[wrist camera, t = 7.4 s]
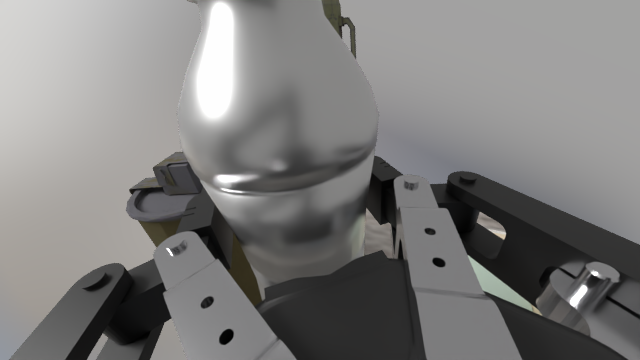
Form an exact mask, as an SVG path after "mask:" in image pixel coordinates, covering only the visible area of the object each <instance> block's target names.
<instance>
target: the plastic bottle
mask: <svg viewBox="0 0 640 360" xmlns="http://www.w3.org/2000/svg"><path fill="white" fill-rule="evenodd" d="M187 1H189V2H192V3H196V4H198V7H199V12H200V19H201V26H202V29H201V31H200V34H199V37H198V40H197V43H196V46H195V49H194V52H193V54H192V57H191V60H190V63H189V66H188V69H187V71H186V74H185V78H184V83H183V88H182V92H181V96H180V101H179V105H178V109H177V118H178V127H179V137H180V146H181V149H182V151H183V153H184V155H185V156H186V158H187V160H188V162H189V164H190V166H191V168H192V170H193V171H194V173H195V174H196V175H197V177H198V178H199V179H200V182H201V184H202V185H203V187H204V188H205V190H206V191H207V193H208V194H209V196H210V197H211V199H212V200H213V202H214V203H215V205H216V206H217V208H218V210H219V211H220V213H221V214H222V216H223V217H224V219H225V220H226V222H227V223H228V225H229V226H230V228H231V229H232V231H233V232H234V234H235V236H236V238H237V240H238V242H239V244H240V246H241V248H242V250H243V252H244V254H245V256H246V258H247V260H248V262H249V263H250V265H251V268H252V270H253V272H254V274H255V276H256V279H257V283H258V286H259V290H260V294H261V298H262V300H264V299H265V292H264V288H266V287H269V286H272V285H275V284H278V283H281V282H285V281H288V280H291V279H294V278H301V277H312V276H323V275H329V274H331V273H333V272H334V271H336V270H338V269H339V268H341V267H343V266H344V265H346V264H348V263H349V262H351V261H352V260H354V259H356V258H359V257H362V256H364V243H365V240H364V235H365V220H366V203H367V197H368V191H369V185H370V179H371V172H372V166H373V160H374V154H375V146H376V142H377V132H378V120H379V112H378V109H377V105H376V102H375V99H374V95H373V91H372V88H371V85H370V84H369V81H368V80H367V78H366V76H365V75H364V73H363V71H362V69H361V68H360V66H359V64H358V63H357V61H356V59H355V57H354V56H353V54H352V52H351V51H350V50H349V48H348V47H347V46H346V44H345V43H344V42H343V40H342V39H341V37H340V36H339V35H338V33H337V32H336V30H335V29H334V28H333V26H332V25H331V23H330V22H329V21H328V19H327V18H326V17H325V15H324V10H323V6H322V1H321V0H187Z"/></svg>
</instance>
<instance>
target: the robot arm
mask: <svg viewBox="0 0 640 360" xmlns="http://www.w3.org/2000/svg"><path fill="white" fill-rule="evenodd" d="M366 208H367V209H368V210H369V211H370V213H371V214H372V215H373V216H374V218H375V219H376V220H377V221H378V223H379V224H380V225H382V224H385V223H390V224H391V241H392V253H393V259H392V258H391V259H388V258H387V256H386V255H385V254H384V252H383V251H382V250H381V251H378V252H375V253H372V254H369V255H365V256H362V257H359V258H356V259H354V260H352V261H351V262H349V263H348V264H346V265H344V266H343V267H341V268H339V269H338V270H336V271H334V272H333V273H331V274H329V275H323V276H312V277H301V278H294V279H291V280H288V281H285V282H281V283H278V284H275V285H272V286H269V287H266V288H264V292H265V299H264V300H262V301H261V302H259V303H258V304H257V305H255V306H253V305H252V303H251V302H250V301H249V299H248V298H247V297H246V295H245V294H244V293H243V291H242V290H241V289H240V287H239V286H238V285H237V283H236V282H235V281H234V279H233V278H232V277H231V275H230V274H229V273H228V271H227V270H229V269H231V260H232V246H233V231H232V229H231V228H230V226H229V225H228V223H227V222H226V220H225V219H224V217H223V216H222V214H221V213H220V211H219V210H218V208H217V206H216V205H215V203H214V202H213V200H212V199H211V197H210V196H209V194H208V193H207V191H206V190H205V188H204V187H203V188H202V191H201V194H199V195H195V196H194V197H193V198H192V199H191V200H190V201H189V202H188V203H187V206H186V209H185V211H184V214H183V217H182V219H181V221H180V224H179V226H178V229H177V231H176V234H175V235H173V236H171V237H169V238H167V239H166V240H165V241H163V242H162V243H161V244H160V245H159V246H158V247H157V248H156V250H155V252H154V255H153V257H154V259H152V260H150V261H148V262H146V263H144V264H142V265H140V266H137V267H135V268H133V269H131V270H129V271H127V270H126V269H125V267H124V266H123V265H121V264H119V263H113V264H108V265H105V266H102V267H100V268H97V269H95V270H93V271H92V272H90V273H88V274H87V275H85V276H84V277H82V278H81V279H80V280H78V281H77V282H76V283H75V284H74V285H73V286H72V287H71V288H70V289H69V291H68V292H67V293H66V294H65V295H64V296H63V298H62V299H61V300H60V301H59V302H58V303H57V305H56V306H55V307H54V308H53V309H52V310H51V312H50V313H49V314H48V315H47V316H46V317H45V319H44V320H43V321H42V322H41V323H40V324H39V326H38V327H37V328H36V329H35V330H34V331H33V332H32V334H31V335H30V336H29V337H28V338H27V339H26V341H25V342H24V343H23V344H22V345H21V346H20V348H19V349H18V350H17V351H16V352H15V353H14V355H13V356H12V357H11V358H10V359H9V360H87V358H88V356H89V354H90V353H91V351H92V349H93V348H94V346H95V345H96V343H97V342H98V339H99V338H100V337H101V335H102V333H103V334H105V335H106V336H107V337H108V340H107V342H106V343H105V345H104V347H103V349H102V350H101V352H100V354H99V356H98V357H97V359H96V360H150V358H151V355H152V353H153V350H154V348H155V346H156V343H157V341H158V338H159V335H160V333H161V330H162V328H163V325H164V322H166V321H168V320H169V319H171V318H172V320H173V323H174V326H175V328H176V331H177V333H178V336H179V339H180V342H181V344H182V347H183V350H184V353H185V355H186V358H187V360H640V245H639V244H636V243H634V242H632V241H630V240H627V239H625V238H623V237H621V236H618V235H616V234H614V233H611V232H609V231H607V230H604V229H602V228H600V227H598V226H595V225H593V224H591V223H589V222H586V221H584V220H582V219H579V218H577V217H575V216H572V215H570V214H568V213H566V212H563V211H561V210H559V209H556V208H554V207H552V206H549V205H547V204H545V203H542V202H540V201H538V200H536V199H534V198H531V197H529V196H527V195H524V194H522V193H520V192H518V191H515V190H513V189H510V188H508V187H506V186H504V185H502V184H499V183H497V182H495V181H492V180H490V179H488V178H485V177H483V176H481V175H478V174H475V173H472V172H464V171H460V172H454V173H451V174H450V175H449V176H448V180H447V184H429V182H428V181H427V180H426V179H425V178H423V177H420V176H416V175H403V174H401V173H400V172H399V171H397V170H396V169H395V168H393V167H392V166H390V165H389V164H388V163H386V162H385V161H384V160H383V159H382V158H380V157H377V156H374V160H373V166H372V172H371V179H370V185H369V191H368V197H367V203H366ZM479 212H482V213H484V214H485V215H487V216H489V217H491V218H492V219H494V220H496V221H498V222H499V223H500V224H501V225H502V226H503V227H504V228H505V231H506V237H505V239H502V238H500V237H499V236H497V235H496V234H494V233H492V232H491V231H489V230H488V229H486V228H484V227H483V226H481V225H480V224H478V223H476V222H477V219H478V215H479ZM468 256H470V257H471V258H472V259H474V260H475V261H476V262H477V263H479V264H480V265H481V266H483V267H484V268H485V269H486V270H488V271H489V272H490V273H492V274H493V275H494V276H495V277H497V278H498V279H499V280H501V281H502V282H503V283H505V284H506V285H507V286H508V287H510V288H511V289H512V290H514V291H515V292H516V293H517V294H519V295H520V296H521V297H523V298H524V299H525V300H526V301H528V302H529V303H530V304H532V305H533V306H534V307H535V308H537V309H538V310H539V312H540V313H541V314H542V316H541V315H539V314H537V313H534V312H532V311H530V310H528V309H525V308H523V307H521V306H518V305H516V304H514V303H511V302H509V301H507V300H504V299H502V298H500V297H497V296H495V295H493V294H490V293H488V292H486V291H483V290H482V288H481V285H480V283H479V281H478V278H477V276H476V274H475V271H474V269H473V267H472V264H471V262H470V260H469V257H468Z"/></svg>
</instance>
